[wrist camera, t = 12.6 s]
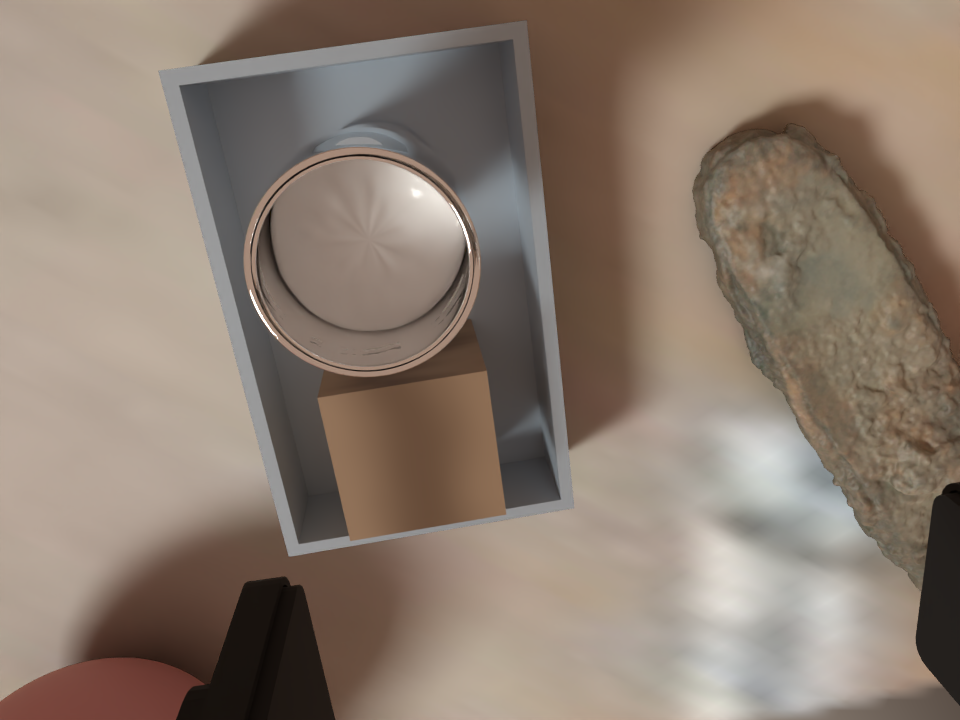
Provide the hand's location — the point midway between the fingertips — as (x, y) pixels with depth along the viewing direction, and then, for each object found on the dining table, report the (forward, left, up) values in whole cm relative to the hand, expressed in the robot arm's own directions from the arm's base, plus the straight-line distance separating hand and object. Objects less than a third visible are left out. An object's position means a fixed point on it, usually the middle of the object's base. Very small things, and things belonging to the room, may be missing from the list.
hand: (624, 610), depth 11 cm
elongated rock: (-22, +12, -28) cm, 38 cm away
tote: (+4, +2, -28) cm, 28 cm away
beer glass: (+4, -3, -27) cm, 28 cm away
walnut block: (+4, +8, -27) cm, 28 cm away
